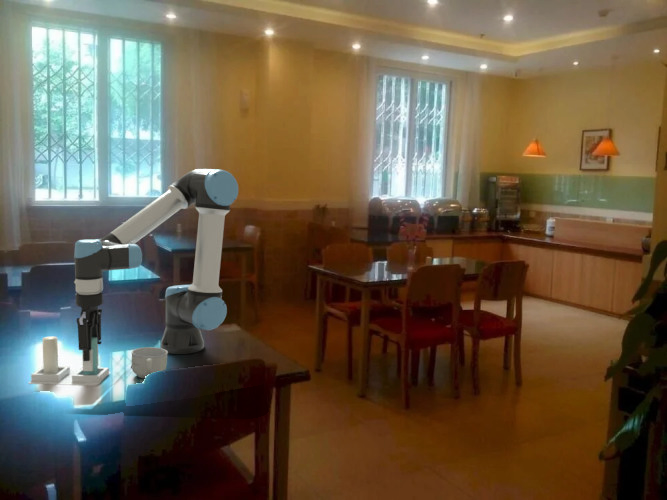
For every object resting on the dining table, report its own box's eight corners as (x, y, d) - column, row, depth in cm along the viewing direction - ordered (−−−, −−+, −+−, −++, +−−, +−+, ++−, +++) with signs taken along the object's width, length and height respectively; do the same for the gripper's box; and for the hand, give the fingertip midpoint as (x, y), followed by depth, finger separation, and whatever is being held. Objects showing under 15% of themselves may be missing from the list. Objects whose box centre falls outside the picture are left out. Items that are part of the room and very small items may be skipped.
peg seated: (60, 374, 187) (59, 336, 185) (54, 379, 183) (53, 340, 181) (47, 374, 187) (46, 336, 185) (41, 378, 183) (40, 339, 181)
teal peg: (86, 374, 187) (86, 336, 185) (100, 375, 187) (99, 336, 186) (81, 379, 183) (80, 340, 182) (95, 379, 183) (94, 340, 182)
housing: (111, 374, 191) (111, 365, 191) (96, 388, 179) (96, 378, 179) (47, 372, 191) (46, 363, 191) (28, 386, 179) (27, 376, 179)
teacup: (136, 369, 197) (136, 345, 196) (170, 370, 198) (170, 346, 197) (125, 385, 183) (125, 359, 182) (162, 385, 184) (162, 359, 183)
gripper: (87, 286, 190) (89, 359, 193) (64, 297, 173) (66, 377, 176) (111, 286, 190) (113, 359, 193) (90, 298, 173) (92, 378, 176)
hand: (90, 368), depth 185 cm, fingers closed on teal peg, 4 cm apart
